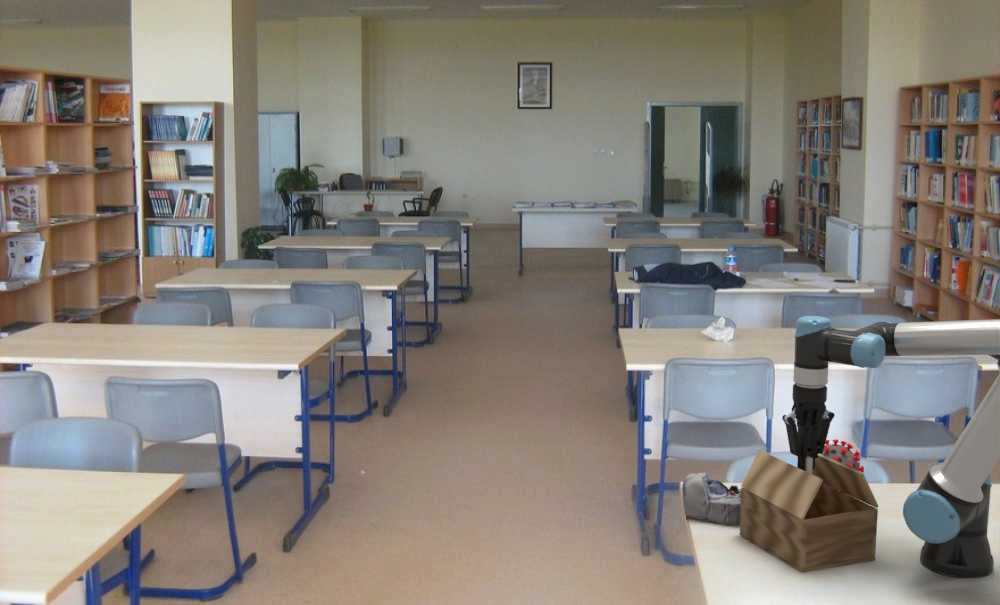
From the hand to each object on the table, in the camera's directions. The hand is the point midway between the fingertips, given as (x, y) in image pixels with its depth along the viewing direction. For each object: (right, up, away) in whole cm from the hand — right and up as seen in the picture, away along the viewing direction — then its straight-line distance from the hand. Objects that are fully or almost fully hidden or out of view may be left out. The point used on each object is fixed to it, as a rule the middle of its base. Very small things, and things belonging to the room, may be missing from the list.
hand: (805, 483), depth 253 cm
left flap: (-6, 0, -3) cm, 7 cm away
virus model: (+18, -9, +39) cm, 44 cm away
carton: (+1, -15, +3) cm, 16 cm away
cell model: (-15, -12, +22) cm, 29 cm away
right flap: (+8, +1, +3) cm, 8 cm away
